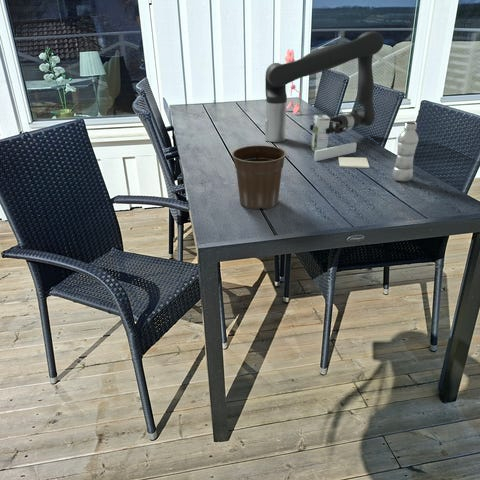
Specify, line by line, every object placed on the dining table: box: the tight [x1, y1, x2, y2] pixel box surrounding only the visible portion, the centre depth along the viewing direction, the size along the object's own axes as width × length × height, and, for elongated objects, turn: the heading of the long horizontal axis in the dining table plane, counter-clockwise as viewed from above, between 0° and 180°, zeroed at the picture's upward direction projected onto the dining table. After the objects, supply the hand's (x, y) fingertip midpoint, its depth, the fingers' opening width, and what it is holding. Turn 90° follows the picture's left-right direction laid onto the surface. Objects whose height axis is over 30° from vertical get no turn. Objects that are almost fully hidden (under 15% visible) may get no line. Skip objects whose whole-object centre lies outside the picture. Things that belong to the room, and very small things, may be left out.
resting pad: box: [337, 156, 370, 169], centre depth 168 cm, size 11×11×1 cm
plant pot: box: [231, 144, 287, 210], centre depth 131 cm, size 16×16×16 cm
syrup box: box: [310, 114, 331, 153], centre depth 181 cm, size 6×6×14 cm
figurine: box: [284, 48, 302, 118], centre depth 242 cm, size 15×26×35 cm, turn 16°
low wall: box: [313, 141, 357, 162], centre depth 175 cm, size 22×1×4 cm, turn 122°
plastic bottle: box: [392, 121, 419, 182], centre depth 145 cm, size 6×7×20 cm
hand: (318, 129), depth 179 cm, fingers open, 8 cm apart
